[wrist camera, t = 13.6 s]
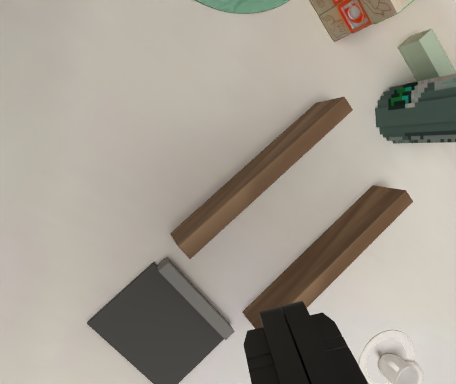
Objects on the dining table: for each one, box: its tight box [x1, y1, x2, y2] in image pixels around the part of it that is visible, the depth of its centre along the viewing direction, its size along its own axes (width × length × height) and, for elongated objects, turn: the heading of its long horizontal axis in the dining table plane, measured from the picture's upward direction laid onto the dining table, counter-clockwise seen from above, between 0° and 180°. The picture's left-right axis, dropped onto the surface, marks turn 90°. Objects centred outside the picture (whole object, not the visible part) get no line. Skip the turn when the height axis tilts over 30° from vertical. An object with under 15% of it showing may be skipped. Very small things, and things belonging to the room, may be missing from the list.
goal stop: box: [398, 29, 456, 81], centre depth 41 cm, size 10×2×3 cm, turn 40°
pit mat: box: [87, 258, 235, 384], centre depth 36 cm, size 11×9×2 cm
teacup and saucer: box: [359, 330, 423, 384], centre depth 44 cm, size 9×8×4 cm
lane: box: [171, 97, 413, 329], centre depth 37 cm, size 13×20×5 cm, turn 130°
